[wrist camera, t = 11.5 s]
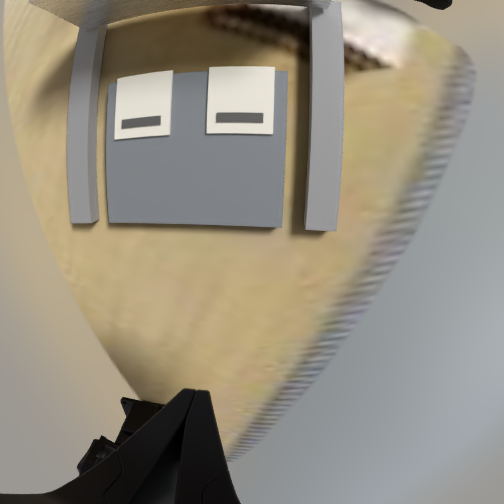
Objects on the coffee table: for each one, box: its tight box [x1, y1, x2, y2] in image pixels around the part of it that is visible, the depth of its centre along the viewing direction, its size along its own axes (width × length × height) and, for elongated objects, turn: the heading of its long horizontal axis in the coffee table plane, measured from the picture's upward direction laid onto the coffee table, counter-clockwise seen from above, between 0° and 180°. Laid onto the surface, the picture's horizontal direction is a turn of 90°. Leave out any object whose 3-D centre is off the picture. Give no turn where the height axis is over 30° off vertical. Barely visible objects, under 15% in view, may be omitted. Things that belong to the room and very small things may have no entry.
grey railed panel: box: [67, 1, 344, 231], centre depth 16 cm, size 16×19×1 cm
